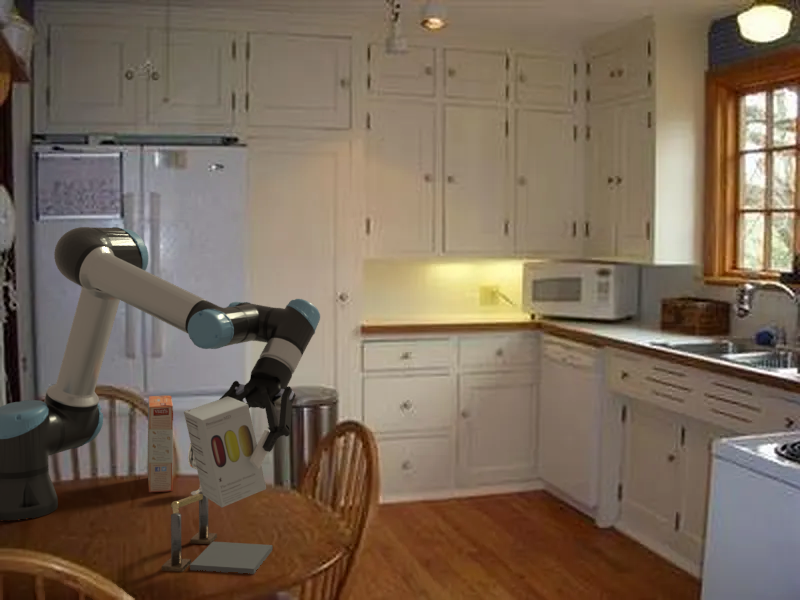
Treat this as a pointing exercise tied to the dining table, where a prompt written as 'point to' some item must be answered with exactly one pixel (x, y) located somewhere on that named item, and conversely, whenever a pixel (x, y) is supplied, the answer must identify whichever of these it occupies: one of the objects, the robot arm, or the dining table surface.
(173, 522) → the small hurdle
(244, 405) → the supplement box
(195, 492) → the wineglass
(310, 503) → the dining table surface
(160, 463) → the cracker box
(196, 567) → the mat
